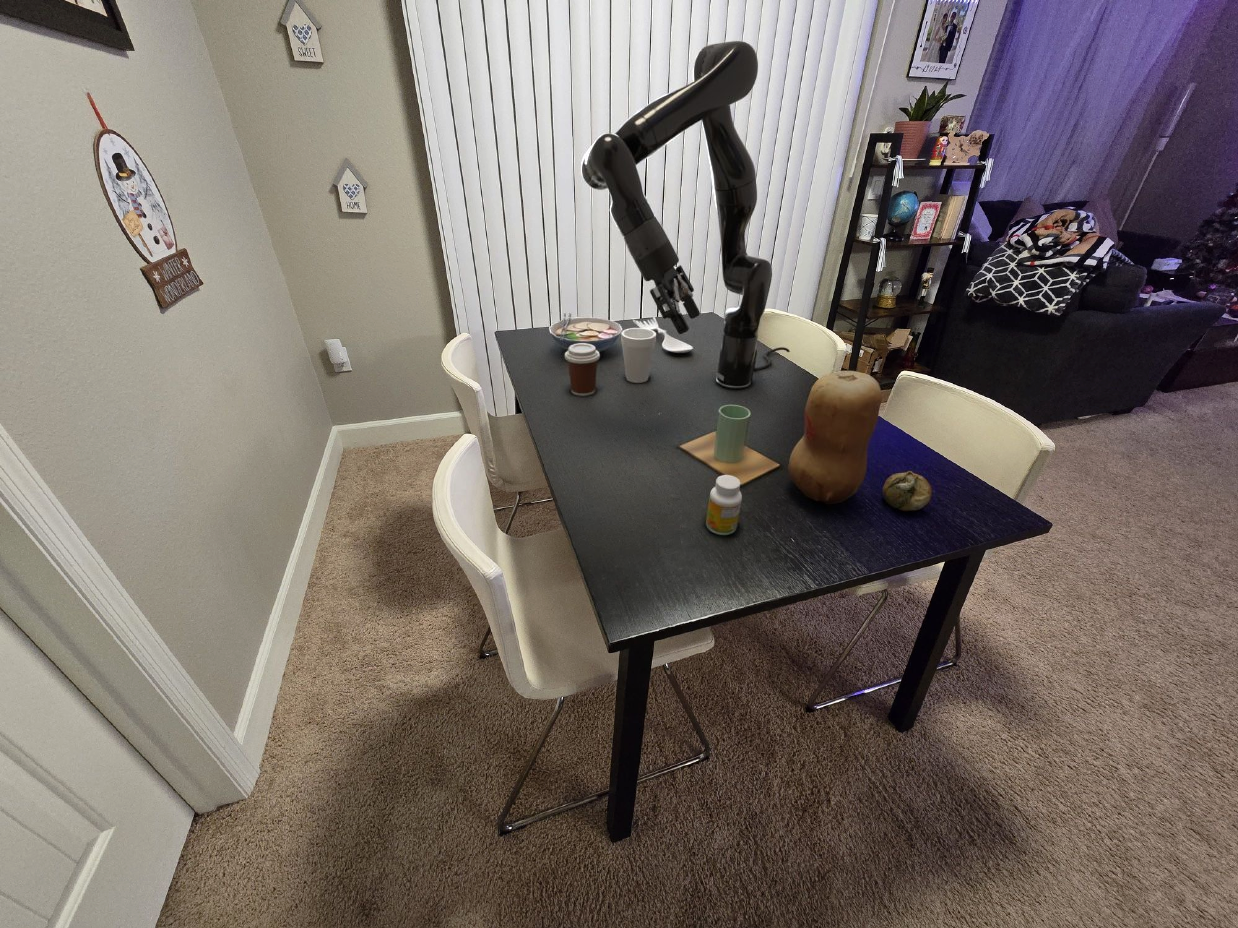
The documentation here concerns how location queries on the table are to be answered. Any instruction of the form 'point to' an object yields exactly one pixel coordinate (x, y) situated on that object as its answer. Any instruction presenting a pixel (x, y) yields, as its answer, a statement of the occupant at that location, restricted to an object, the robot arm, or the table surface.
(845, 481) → the butternut squash
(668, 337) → the spoon
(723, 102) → the robot arm
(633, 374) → the foam cup
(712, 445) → the placemat
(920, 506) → the onion
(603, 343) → the ramen bowl
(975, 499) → the table surface
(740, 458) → the cup
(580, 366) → the coffee cup
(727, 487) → the supplement bottle
